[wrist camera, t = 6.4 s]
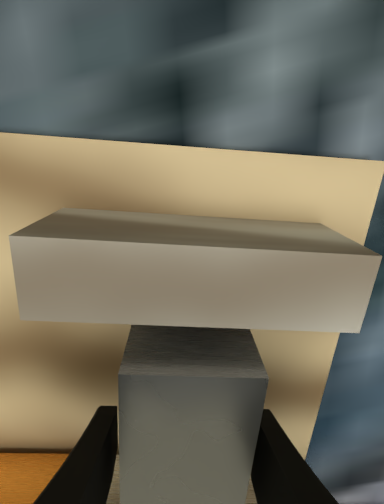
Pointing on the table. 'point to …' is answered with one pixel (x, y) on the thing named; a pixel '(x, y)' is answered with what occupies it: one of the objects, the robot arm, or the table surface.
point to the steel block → (188, 414)
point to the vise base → (155, 182)
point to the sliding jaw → (49, 477)
